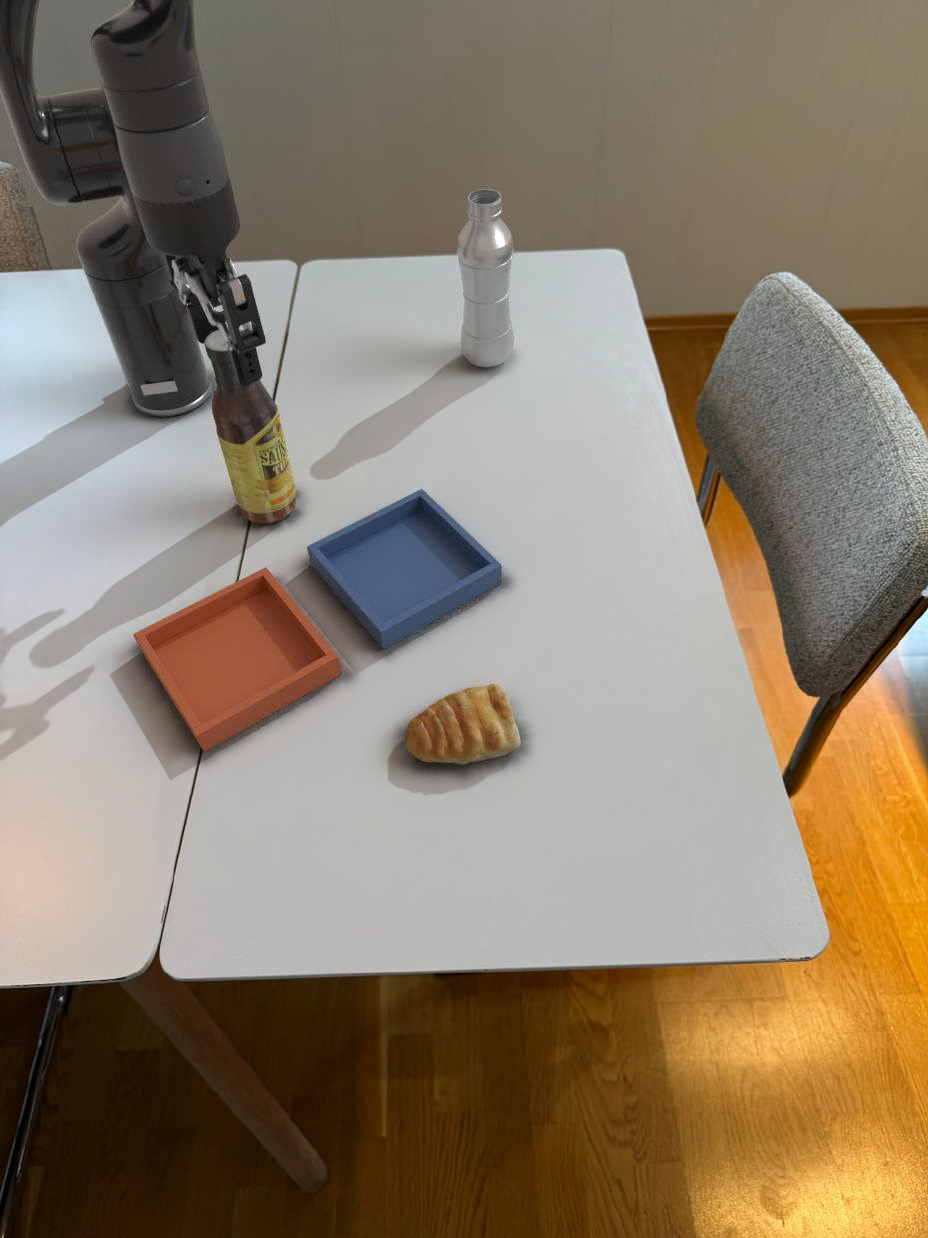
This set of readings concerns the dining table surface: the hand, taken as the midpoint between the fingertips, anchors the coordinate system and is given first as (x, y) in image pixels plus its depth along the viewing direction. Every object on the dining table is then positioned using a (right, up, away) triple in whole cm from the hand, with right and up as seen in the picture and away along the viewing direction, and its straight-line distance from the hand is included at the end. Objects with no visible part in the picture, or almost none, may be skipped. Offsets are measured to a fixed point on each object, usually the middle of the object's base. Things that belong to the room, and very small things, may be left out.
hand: (229, 359), depth 81 cm
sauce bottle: (+1, -12, +14) cm, 18 cm away
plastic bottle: (+24, +9, +30) cm, 39 cm away
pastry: (+22, -34, -5) cm, 40 cm away
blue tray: (+16, -19, +7) cm, 26 cm away
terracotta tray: (+1, -27, +1) cm, 27 cm away
